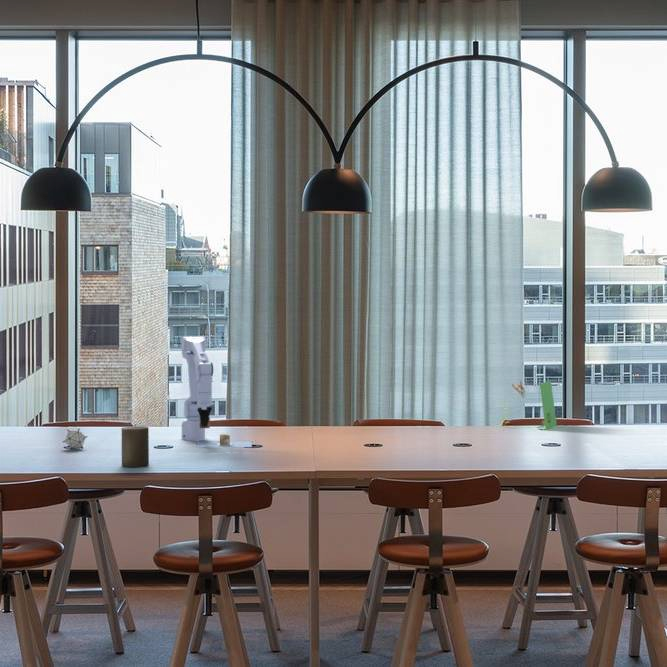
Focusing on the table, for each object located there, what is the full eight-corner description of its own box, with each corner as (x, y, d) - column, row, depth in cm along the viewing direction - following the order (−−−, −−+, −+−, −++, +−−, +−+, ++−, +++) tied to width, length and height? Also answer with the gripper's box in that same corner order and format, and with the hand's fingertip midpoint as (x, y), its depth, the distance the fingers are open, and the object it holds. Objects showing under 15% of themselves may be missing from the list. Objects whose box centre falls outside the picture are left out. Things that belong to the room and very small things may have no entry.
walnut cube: (199, 428, 430) (199, 418, 429) (199, 427, 434) (199, 417, 433) (209, 428, 430) (209, 418, 430) (209, 426, 434) (209, 417, 434)
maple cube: (219, 445, 431) (219, 435, 430) (220, 443, 435) (220, 433, 434) (229, 444, 431) (229, 435, 431) (229, 443, 435) (229, 433, 435)
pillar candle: (149, 467, 380) (149, 425, 379) (121, 467, 378) (121, 425, 377) (148, 463, 389) (148, 422, 389) (121, 463, 387) (121, 422, 387)
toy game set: (506, 429, 514) (500, 380, 515) (557, 425, 504) (551, 375, 504) (494, 435, 494) (487, 384, 495) (547, 430, 484) (540, 378, 485)
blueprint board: (196, 448, 424) (196, 447, 424) (197, 443, 439) (197, 442, 439) (251, 448, 426) (251, 446, 426) (251, 443, 441) (251, 441, 441)
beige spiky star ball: (70, 458, 422) (54, 439, 421) (81, 448, 430) (66, 429, 428) (84, 449, 418) (68, 429, 417) (95, 439, 425) (79, 419, 424)
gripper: (214, 393, 424) (214, 427, 425) (215, 390, 439) (215, 423, 439) (196, 393, 424) (196, 427, 424) (197, 390, 438) (197, 423, 439)
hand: (204, 425), depth 432 cm, fingers closed on walnut cube, 4 cm apart
